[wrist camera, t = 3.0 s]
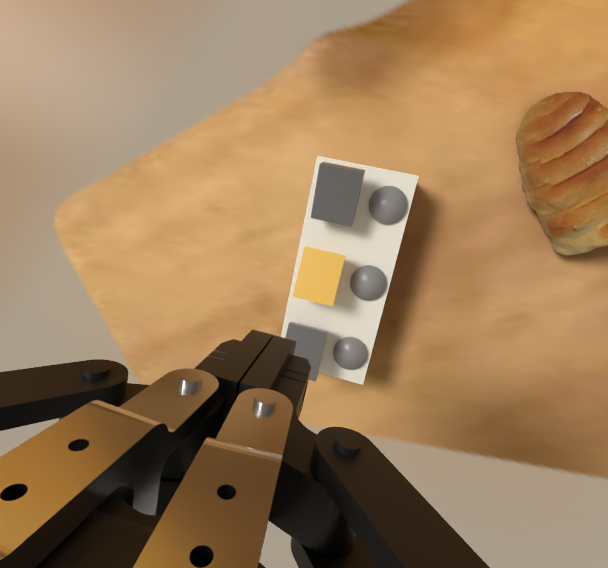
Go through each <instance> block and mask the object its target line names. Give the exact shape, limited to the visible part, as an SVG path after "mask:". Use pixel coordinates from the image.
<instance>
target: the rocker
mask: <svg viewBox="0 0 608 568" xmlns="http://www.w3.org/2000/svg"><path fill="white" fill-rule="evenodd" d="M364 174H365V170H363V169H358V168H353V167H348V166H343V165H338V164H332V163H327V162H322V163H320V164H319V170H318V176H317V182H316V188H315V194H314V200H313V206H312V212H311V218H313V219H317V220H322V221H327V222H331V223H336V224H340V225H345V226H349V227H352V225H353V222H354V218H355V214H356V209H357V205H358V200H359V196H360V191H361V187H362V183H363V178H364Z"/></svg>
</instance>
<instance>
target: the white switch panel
mask: <svg viewBox="0 0 608 568" xmlns="http://www.w3.org/2000/svg"><path fill="white" fill-rule="evenodd" d="M322 162H327V163H332V164H338V165H343V166H348V167H353V168H358V169H363V170H365V174H364V178H363V183H362V187H361V191H360V196H359V200H358V205H357V209H356V214H355V218H354V222H353V225H352V227H349V226H345V225H340V224H336V223H331V222H327V221H322V220H317V219H313V218H311V212H312V206H313V200H314V194H315V188H316V182H317V176H318V170H319V164H320V163H322ZM418 177H419V176H417V175H412V174H406V173H401V172H396V171H391V170H386V169H381V168H376V167H371V166H366V165H361V164H356V163H351V162H346V161H341V160H336V159H330V158H325V157H320V156H317V161H316V166H315V171H314V175H313V180H312V185H311V190H310V195H309V200H308V205H307V210H306V215H305V220H304V225H303V230H302V235H301V240H300V245H299V250H298V255H297V260H296V264H295V269H294V274H293V279H292V284H291V289H290V294H289V299H288V304H287V309H286V314H285V319H284V324H283V329H282V334H281V337H283V338H285V337H286V333H287V329H288V325H289V323H290V322H294V323H298V324H302V325H306V326H310V327H314V328H317V329H321V330H325V331H328V334H327V338H326V342H325V346H324V350H323V354H322V359H321V363H320V367H319V371H318V373H321V374H325V375H328V376H332V377H336V378H339V379H343V380H347V381H350V382H354V383H358V384H361V385H363V383H364V379H365V376H366V372H367V368H368V364H369V361H370V357H371V353H372V349H373V346H374V342H375V338H376V334H377V331H378V327H379V323H380V319H381V316H382V312H383V308H384V304H385V301H386V297H387V293H388V289H389V286H390V282H391V278H392V274H393V271H394V267H395V263H396V259H397V256H398V252H399V248H400V244H401V241H402V237H403V233H404V229H405V226H406V222H407V218H408V214H409V211H410V207H411V203H412V199H413V196H414V192H415V188H416V184H417V181H418ZM305 246H306V247H310V248H315V249H319V250H324V251H328V252H332V253H337V254H341V255H345V261H344V265H343V269H342V273H341V278H340V282H339V286H338V290H337V294H336V298H335V302H334V306H329V305H325V304H321V303H317V302H313V301H309V300H305V299H301V298H297V297H293V292H294V288H295V284H296V280H297V276H298V272H299V268H300V264H301V259H302V255H303V251H304V247H305Z"/></svg>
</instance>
